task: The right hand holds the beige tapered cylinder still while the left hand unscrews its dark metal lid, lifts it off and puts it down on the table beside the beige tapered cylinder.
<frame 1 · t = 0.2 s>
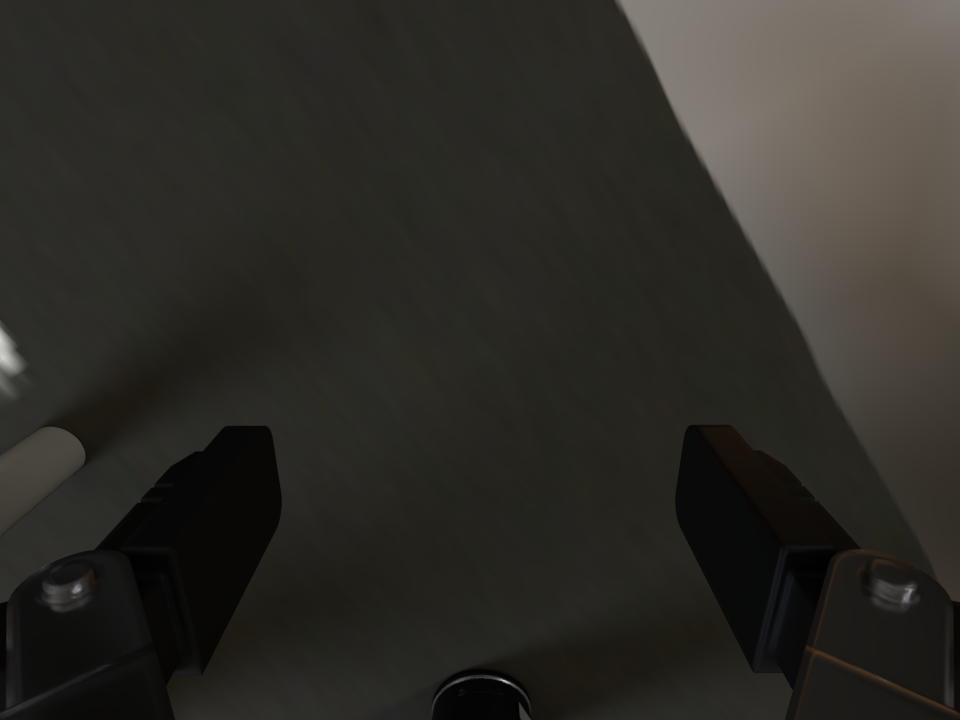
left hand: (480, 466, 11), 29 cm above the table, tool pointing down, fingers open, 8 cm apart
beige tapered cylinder: (57, 450, 45), on the table
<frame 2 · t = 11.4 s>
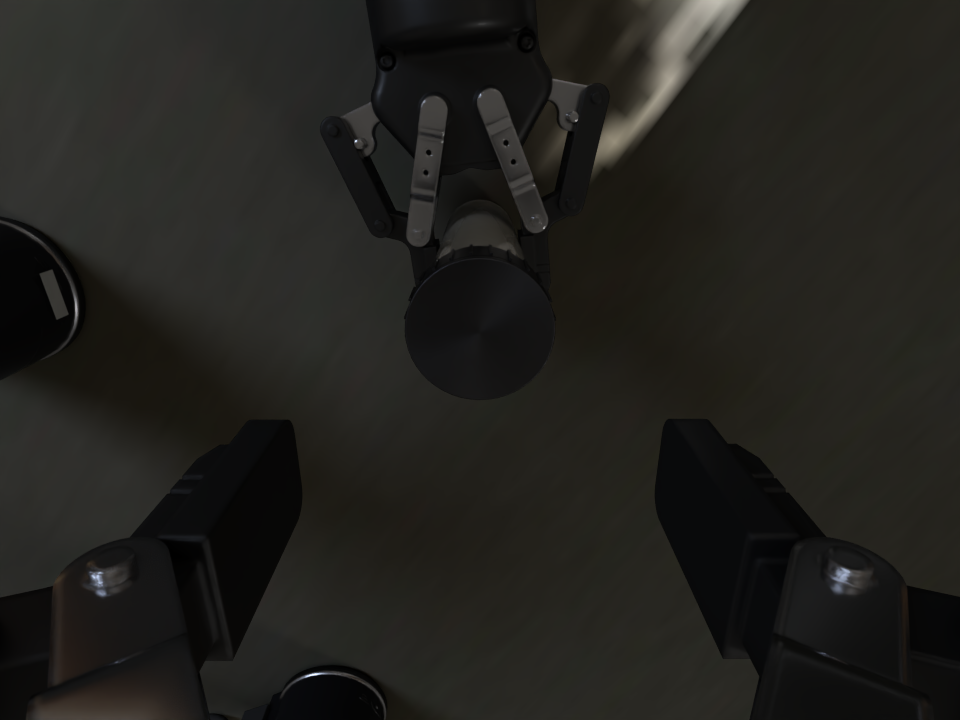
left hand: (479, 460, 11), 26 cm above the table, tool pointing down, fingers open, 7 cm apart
right hand: (486, 304, 31), fingers closed on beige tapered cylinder, 4 cm apart
lid: (480, 329, 19), point 18 cm above the table, screwed on, not yet turned
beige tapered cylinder: (480, 234, 36), on the table, touching right hand
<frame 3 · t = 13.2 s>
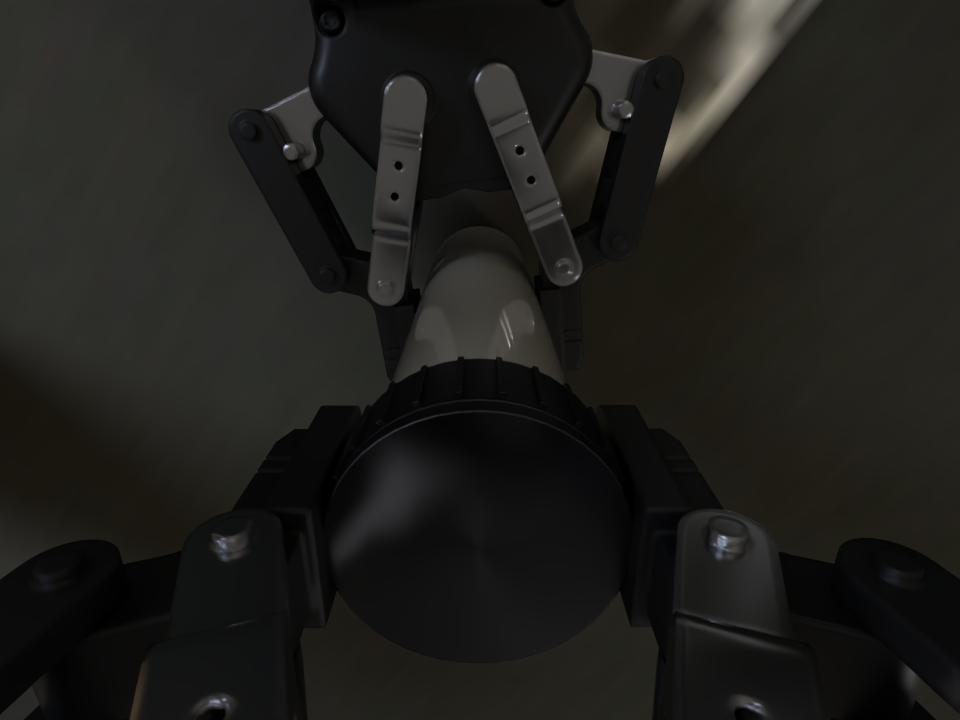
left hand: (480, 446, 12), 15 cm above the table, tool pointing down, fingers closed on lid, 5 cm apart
right hand: (488, 383, 21), fingers closed on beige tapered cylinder, 4 cm apart
lid: (478, 535, 9), point 18 cm above the table, screwed on, not yet turned, touching left hand
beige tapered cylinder: (479, 273, 26), on the table, touching right hand
when the left hand's fingers open (16 cm above the table, at t = 14.8 s): lid stays where it is, point 18 cm above the table.
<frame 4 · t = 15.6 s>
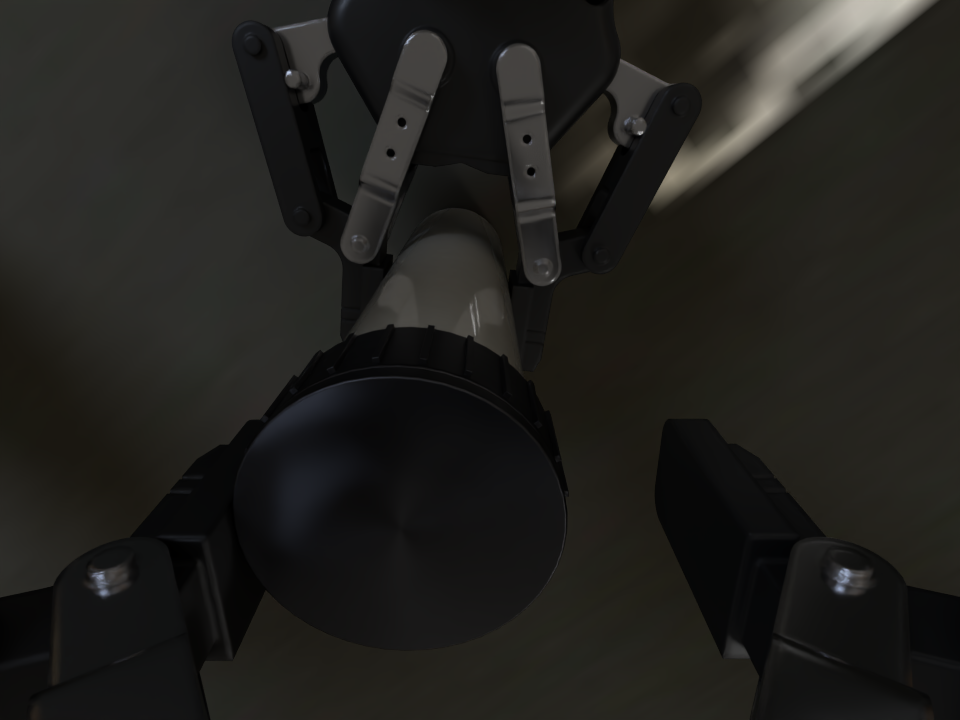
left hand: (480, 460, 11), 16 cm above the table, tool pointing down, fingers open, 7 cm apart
right hand: (440, 366, 21), fingers closed on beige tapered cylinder, 4 cm apart
lid: (403, 514, 9), point 18 cm above the table, turned 73° so far, risen 0.2 cm, still on its thread
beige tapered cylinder: (455, 256, 26), on the table, touching right hand
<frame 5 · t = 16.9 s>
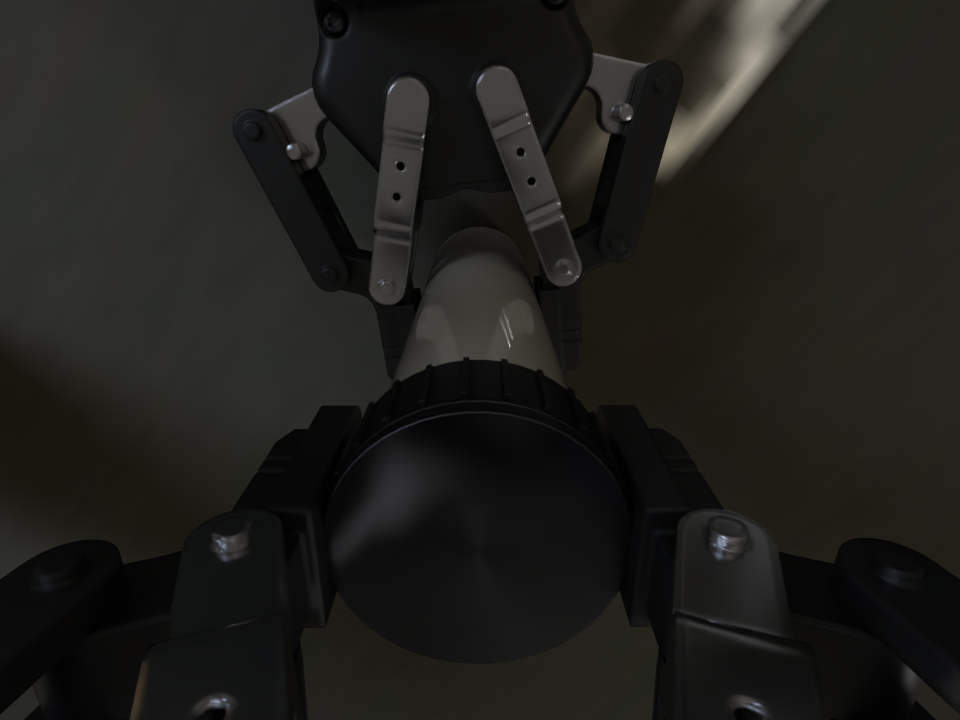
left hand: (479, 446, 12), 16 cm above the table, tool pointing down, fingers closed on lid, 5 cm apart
right hand: (487, 382, 22), fingers closed on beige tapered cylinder, 4 cm apart
lid: (477, 536, 9), point 18 cm above the table, turned 73° so far, risen 0.2 cm, still on its thread, touching left hand
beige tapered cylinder: (479, 273, 26), on the table, touching right hand
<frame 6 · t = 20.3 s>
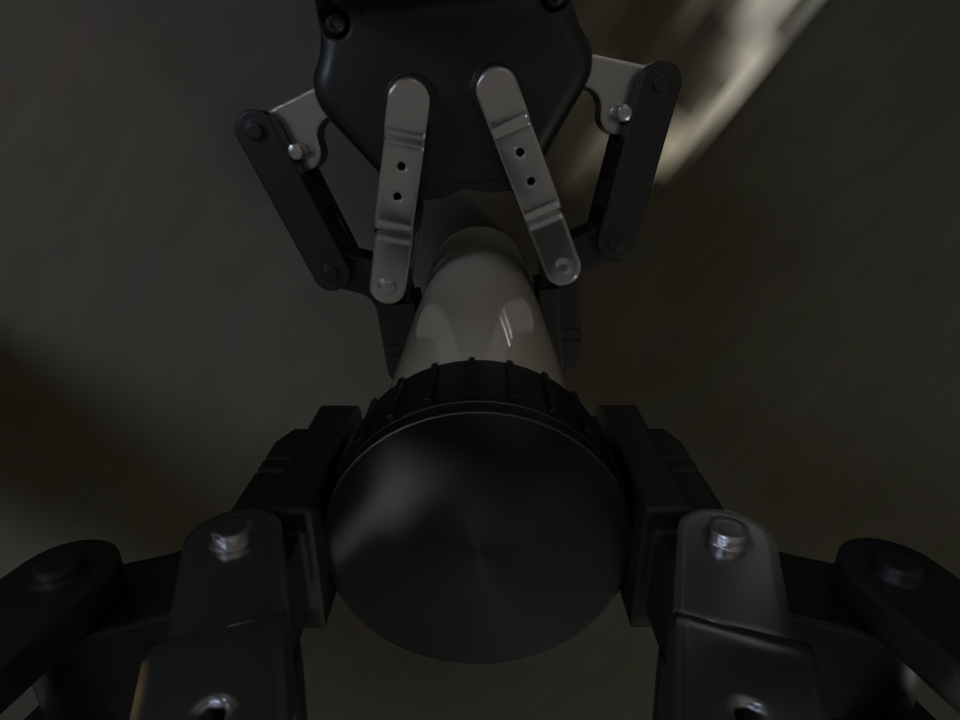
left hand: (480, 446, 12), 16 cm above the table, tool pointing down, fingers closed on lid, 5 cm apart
right hand: (487, 380, 22), fingers closed on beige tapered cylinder, 4 cm apart
lid: (477, 536, 9), point 19 cm above the table, turned 146° so far, risen 0.3 cm, still on its thread, touching left hand
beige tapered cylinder: (479, 272, 27), on the table, touching right hand
when the left hand's fingers open (0 cm above the table, at t = 27.0 s): lid drops 1 cm, point 2 cm above the table.
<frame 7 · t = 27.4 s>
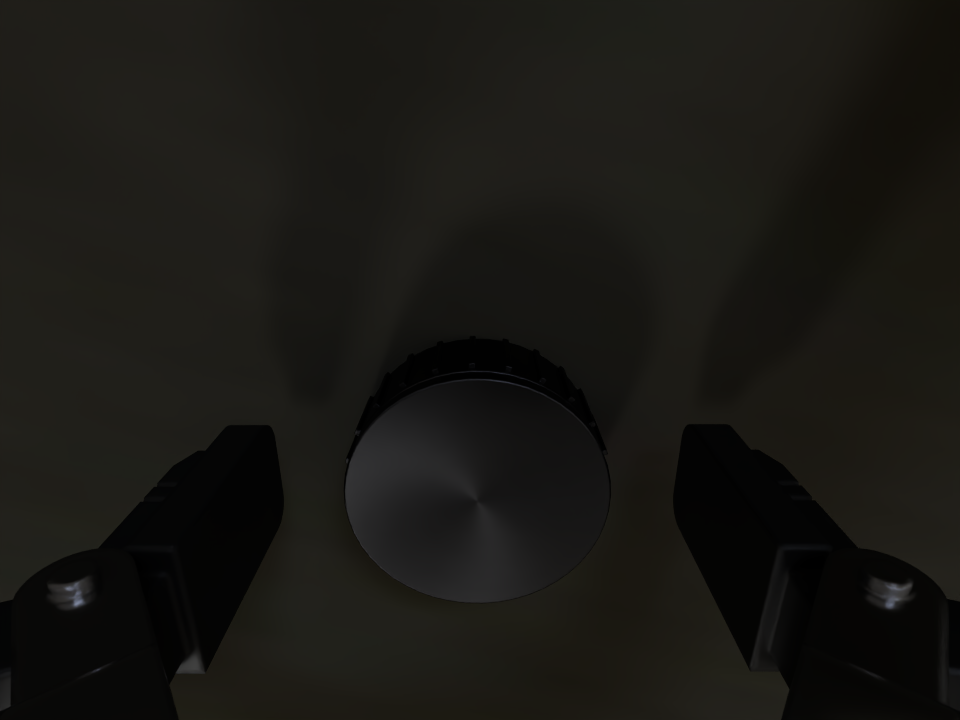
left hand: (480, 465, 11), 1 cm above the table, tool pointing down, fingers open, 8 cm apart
lid: (477, 490, 11), point 2 cm above the table, off its thread
when the right hand's fingers open (6 cm above the table, at t = 28.1 s): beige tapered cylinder stays where it is, on the table.
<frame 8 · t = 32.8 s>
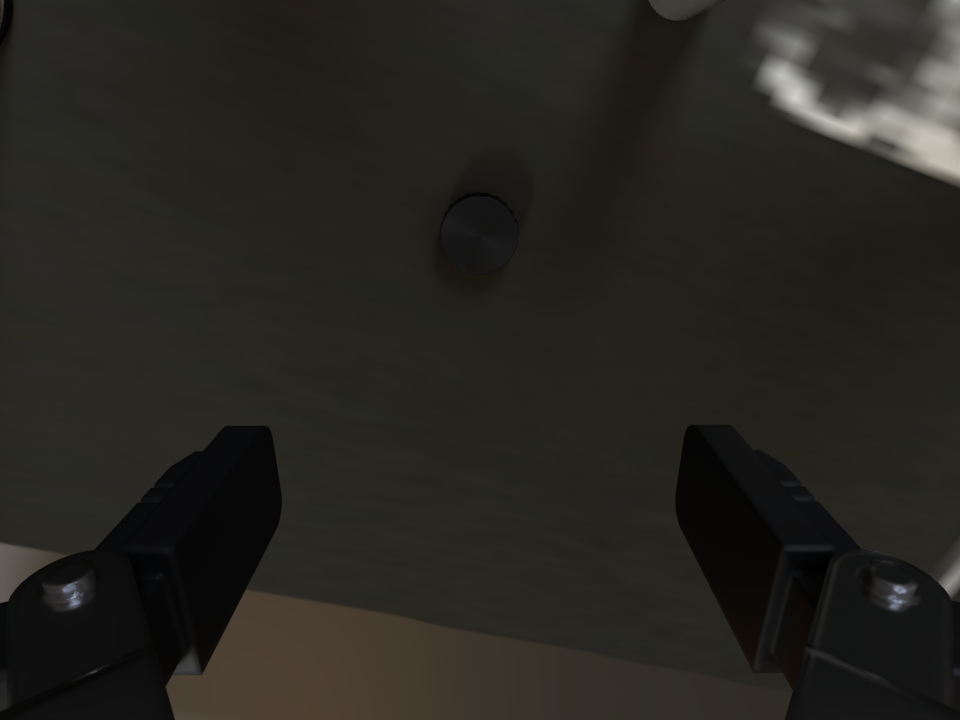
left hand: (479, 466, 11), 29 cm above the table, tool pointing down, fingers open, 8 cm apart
lid: (479, 235, 37), point 2 cm above the table, off its thread
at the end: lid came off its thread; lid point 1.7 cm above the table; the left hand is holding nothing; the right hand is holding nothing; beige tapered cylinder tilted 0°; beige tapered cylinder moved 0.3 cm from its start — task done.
